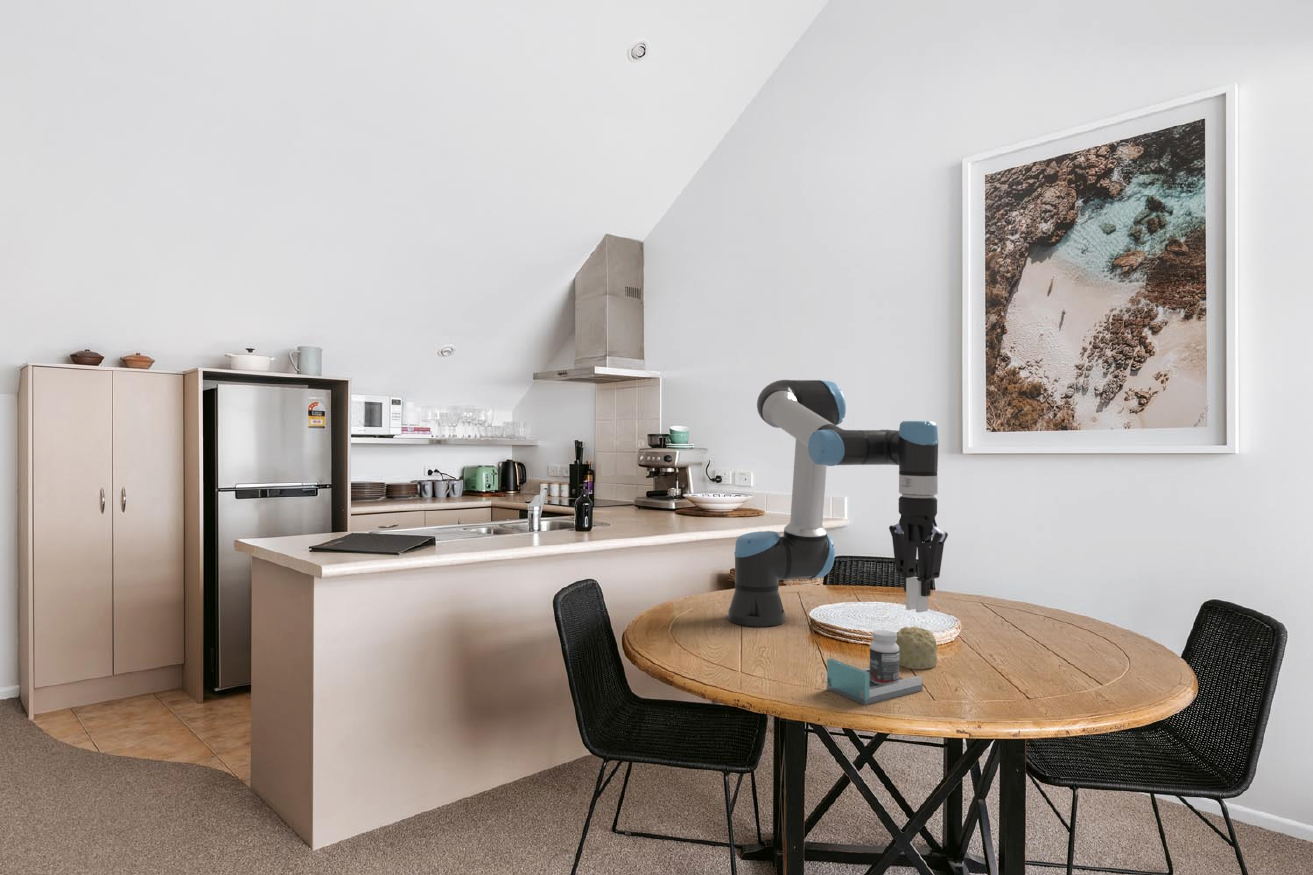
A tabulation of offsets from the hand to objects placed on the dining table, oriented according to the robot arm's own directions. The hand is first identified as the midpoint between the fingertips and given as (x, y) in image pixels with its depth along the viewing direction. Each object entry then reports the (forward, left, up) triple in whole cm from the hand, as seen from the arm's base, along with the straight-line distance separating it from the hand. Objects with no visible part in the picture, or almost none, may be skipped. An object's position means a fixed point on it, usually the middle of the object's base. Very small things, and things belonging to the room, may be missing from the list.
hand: (916, 609), depth 158 cm
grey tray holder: (+12, 0, -14) cm, 19 cm away
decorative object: (-9, -8, -15) cm, 19 cm away
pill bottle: (+9, 0, -14) cm, 16 cm away
